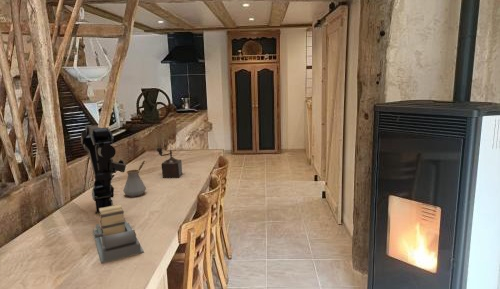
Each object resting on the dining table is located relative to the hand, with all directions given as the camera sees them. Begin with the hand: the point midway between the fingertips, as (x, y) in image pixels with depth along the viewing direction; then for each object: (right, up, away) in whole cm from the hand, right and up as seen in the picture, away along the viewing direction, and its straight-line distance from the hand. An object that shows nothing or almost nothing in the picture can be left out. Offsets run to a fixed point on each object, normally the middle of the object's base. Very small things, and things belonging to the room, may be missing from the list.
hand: (108, 192), depth 153 cm
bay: (+10, -16, -19) cm, 27 cm away
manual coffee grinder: (+10, +1, +70) cm, 71 cm away
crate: (+7, -14, -12) cm, 20 cm away
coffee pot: (+1, -5, +41) cm, 41 cm away
